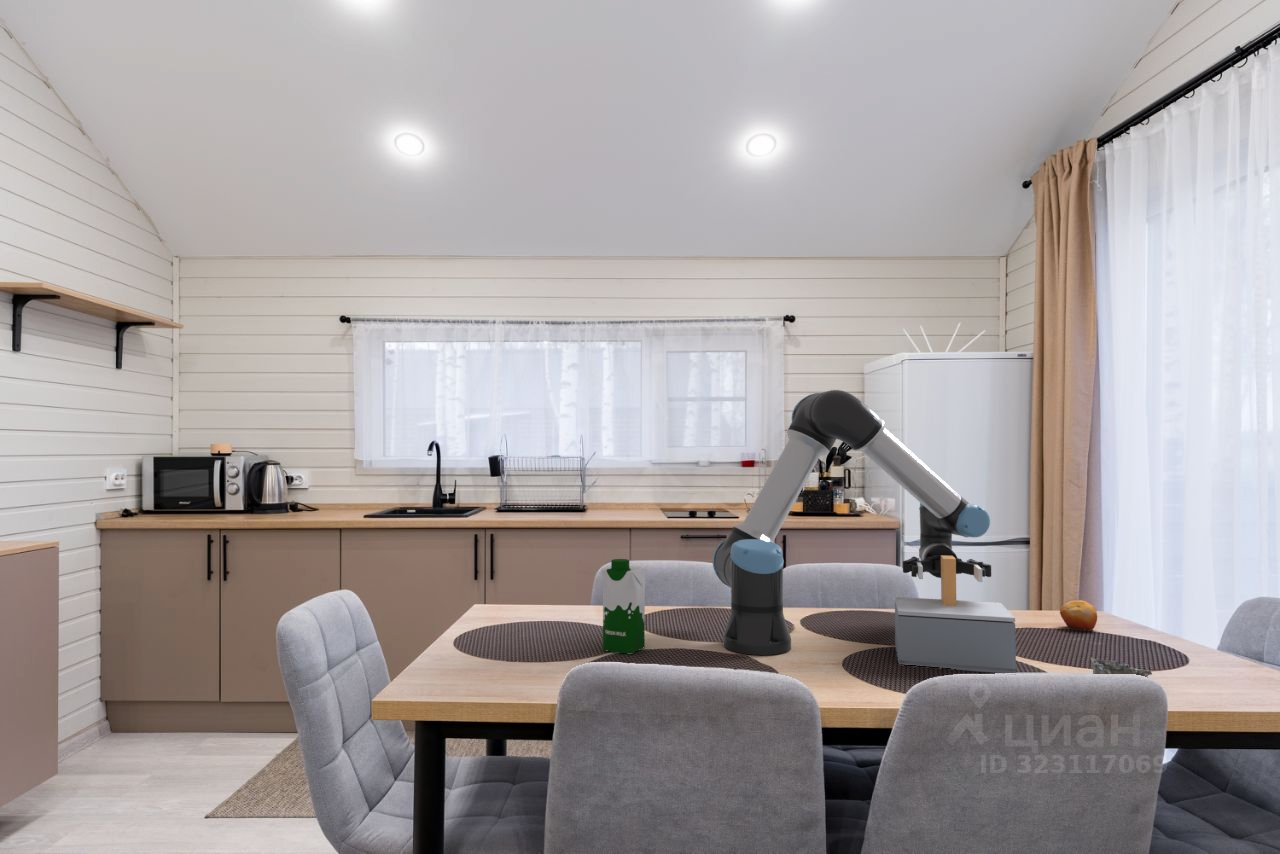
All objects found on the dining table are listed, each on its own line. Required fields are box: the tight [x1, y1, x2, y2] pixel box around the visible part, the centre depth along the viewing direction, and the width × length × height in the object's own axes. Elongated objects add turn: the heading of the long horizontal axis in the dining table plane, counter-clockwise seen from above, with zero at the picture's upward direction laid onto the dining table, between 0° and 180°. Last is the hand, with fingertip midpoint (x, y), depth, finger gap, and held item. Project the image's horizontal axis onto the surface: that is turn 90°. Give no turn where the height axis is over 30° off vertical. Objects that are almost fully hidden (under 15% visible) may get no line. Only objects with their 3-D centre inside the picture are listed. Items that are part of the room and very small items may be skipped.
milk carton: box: [601, 558, 647, 654], centre depth 165 cm, size 9×9×20 cm
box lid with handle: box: [894, 555, 1016, 623], centre depth 158 cm, size 22×16×11 cm
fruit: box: [1059, 599, 1098, 632], centre depth 187 cm, size 8×8×8 cm
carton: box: [894, 602, 1017, 674], centre depth 158 cm, size 22×16×10 cm
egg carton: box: [1090, 657, 1153, 678], centre depth 142 cm, size 11×8×4 cm
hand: (950, 574), depth 158 cm, fingers open, 11 cm apart
